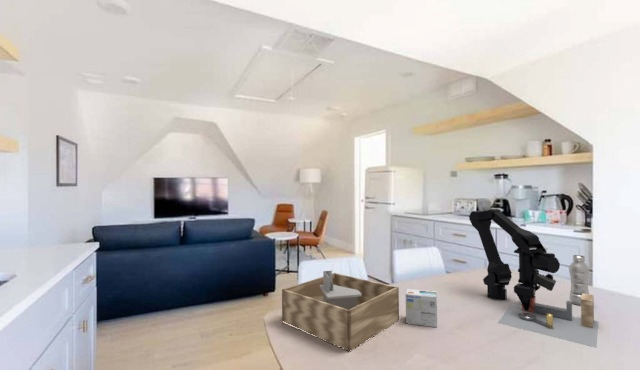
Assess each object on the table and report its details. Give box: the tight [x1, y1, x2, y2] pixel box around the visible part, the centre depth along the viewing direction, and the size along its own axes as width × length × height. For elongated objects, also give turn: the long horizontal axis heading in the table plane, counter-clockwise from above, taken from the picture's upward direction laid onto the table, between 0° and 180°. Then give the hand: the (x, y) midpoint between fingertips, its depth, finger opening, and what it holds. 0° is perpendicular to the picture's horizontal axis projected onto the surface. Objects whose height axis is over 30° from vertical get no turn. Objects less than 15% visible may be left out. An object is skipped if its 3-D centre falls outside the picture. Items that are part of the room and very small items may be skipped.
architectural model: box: [320, 270, 362, 310], centre depth 113 cm, size 23×24×18 cm
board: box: [497, 303, 599, 349], centre depth 110 cm, size 26×24×1 cm
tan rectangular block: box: [580, 293, 595, 328], centre depth 109 cm, size 3×8×9 cm, turn 137°
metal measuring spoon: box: [519, 313, 553, 328], centre depth 110 cm, size 5×11×4 cm, turn 19°
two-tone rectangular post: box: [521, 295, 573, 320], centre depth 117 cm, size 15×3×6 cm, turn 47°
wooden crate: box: [281, 272, 400, 352], centre depth 114 cm, size 31×30×12 cm
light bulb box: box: [405, 288, 438, 328], centre depth 113 cm, size 11×7×11 cm, turn 71°
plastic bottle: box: [568, 254, 590, 307], centre depth 127 cm, size 6×7×20 cm
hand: (528, 307), depth 121 cm, fingers open, 8 cm apart
